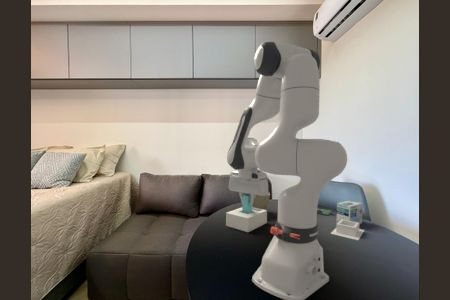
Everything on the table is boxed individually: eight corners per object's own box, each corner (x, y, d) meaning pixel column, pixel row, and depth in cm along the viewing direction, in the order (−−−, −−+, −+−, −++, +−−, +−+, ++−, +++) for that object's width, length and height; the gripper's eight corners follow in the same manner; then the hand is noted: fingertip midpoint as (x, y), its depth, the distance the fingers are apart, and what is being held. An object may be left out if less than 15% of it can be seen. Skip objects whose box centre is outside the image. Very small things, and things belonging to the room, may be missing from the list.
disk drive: (299, 214, 126) (328, 219, 118) (299, 209, 126) (328, 214, 118) (304, 210, 135) (332, 214, 126) (304, 205, 135) (332, 209, 126)
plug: (247, 216, 106) (247, 191, 105) (242, 214, 108) (242, 190, 107) (252, 214, 109) (252, 189, 109) (247, 212, 111) (247, 188, 110)
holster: (358, 244, 88) (358, 231, 88) (330, 237, 94) (330, 224, 94) (364, 233, 99) (364, 221, 99) (338, 227, 105) (339, 216, 105)
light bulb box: (350, 230, 102) (350, 206, 102) (335, 225, 108) (336, 202, 108) (362, 226, 108) (363, 203, 108) (348, 222, 114) (349, 200, 113)
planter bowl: (249, 207, 138) (249, 189, 137) (274, 212, 128) (274, 192, 128) (234, 213, 125) (234, 193, 124) (261, 219, 115) (261, 197, 115)
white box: (247, 232, 98) (248, 217, 98) (226, 225, 106) (226, 212, 106) (266, 222, 110) (266, 209, 110) (245, 217, 118) (246, 205, 118)
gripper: (226, 171, 112) (225, 200, 112) (263, 175, 99) (262, 208, 99) (233, 170, 117) (233, 197, 117) (270, 174, 104) (269, 205, 104)
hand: (247, 202), depth 108 cm, fingers closed on plug, 3 cm apart
